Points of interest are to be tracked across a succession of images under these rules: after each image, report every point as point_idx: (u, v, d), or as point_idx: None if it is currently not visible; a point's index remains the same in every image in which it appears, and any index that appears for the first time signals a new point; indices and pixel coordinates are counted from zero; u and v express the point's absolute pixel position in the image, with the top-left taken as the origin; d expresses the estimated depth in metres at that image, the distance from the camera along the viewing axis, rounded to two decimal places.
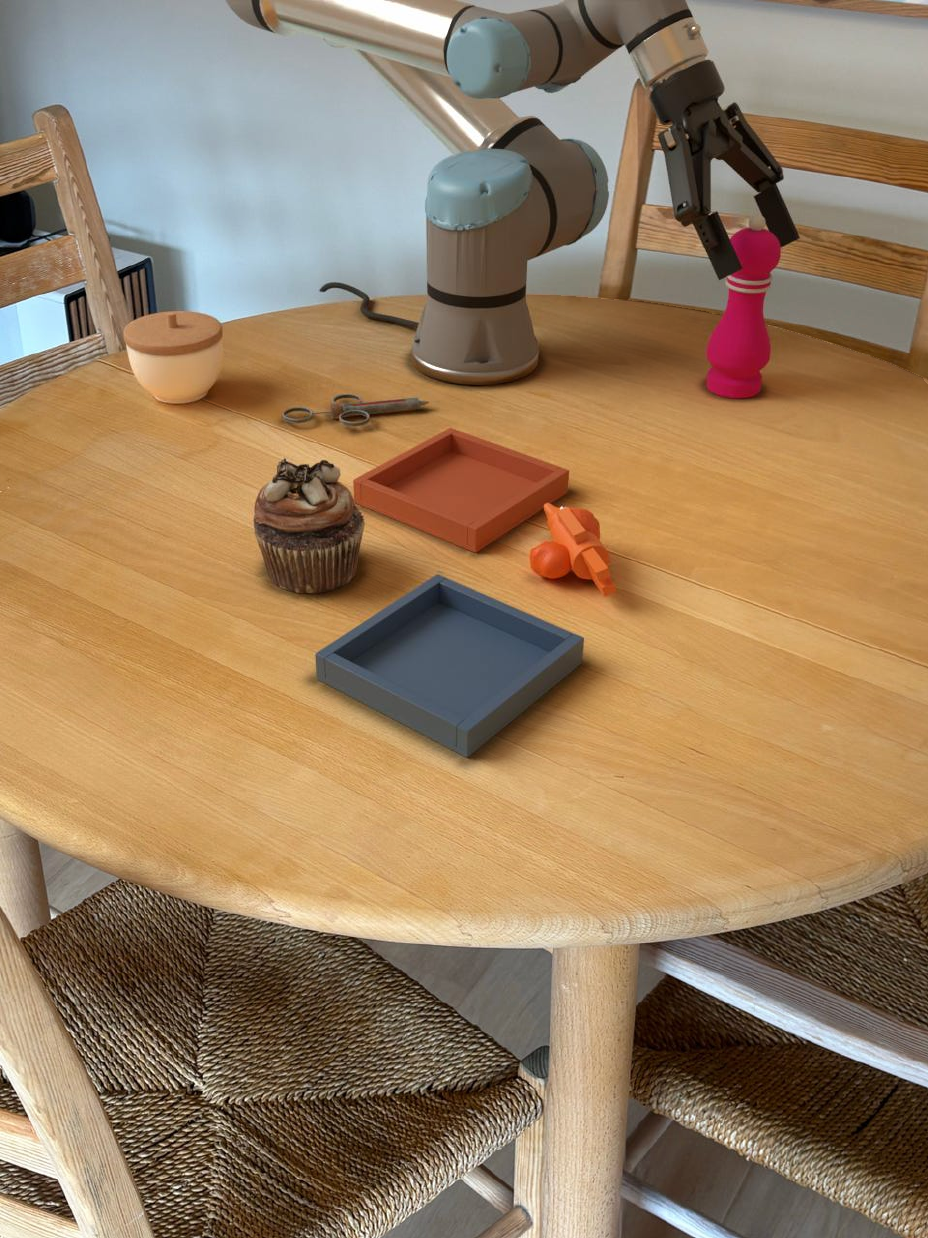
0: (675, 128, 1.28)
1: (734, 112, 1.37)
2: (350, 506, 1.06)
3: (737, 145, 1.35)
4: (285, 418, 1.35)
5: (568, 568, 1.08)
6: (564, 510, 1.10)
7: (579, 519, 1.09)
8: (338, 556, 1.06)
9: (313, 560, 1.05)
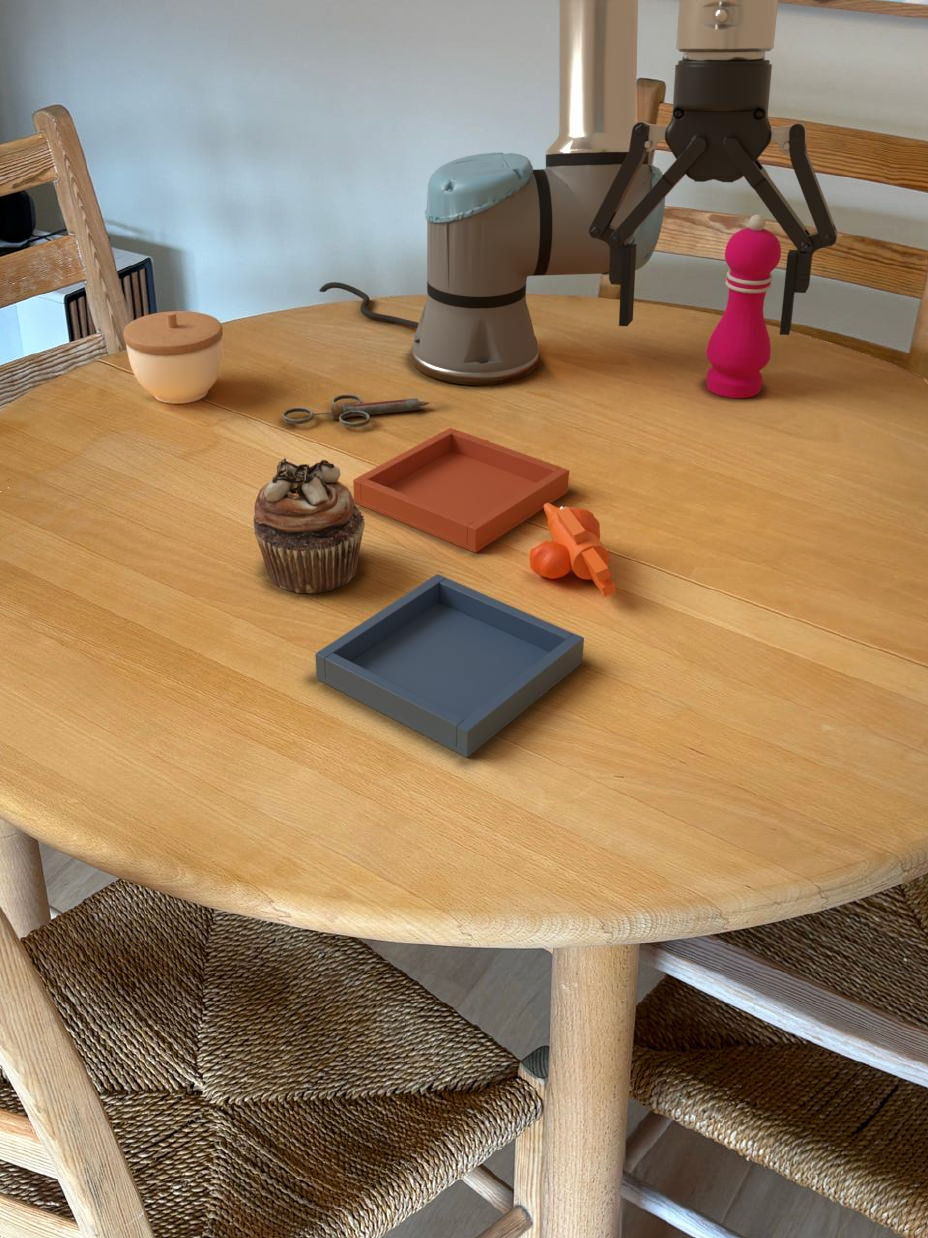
0: (632, 129, 1.01)
1: (789, 137, 0.98)
2: (350, 506, 1.06)
3: (750, 183, 1.00)
4: (285, 419, 1.35)
5: (568, 568, 1.08)
6: (564, 510, 1.10)
7: (579, 519, 1.09)
8: (338, 556, 1.06)
9: (313, 560, 1.05)
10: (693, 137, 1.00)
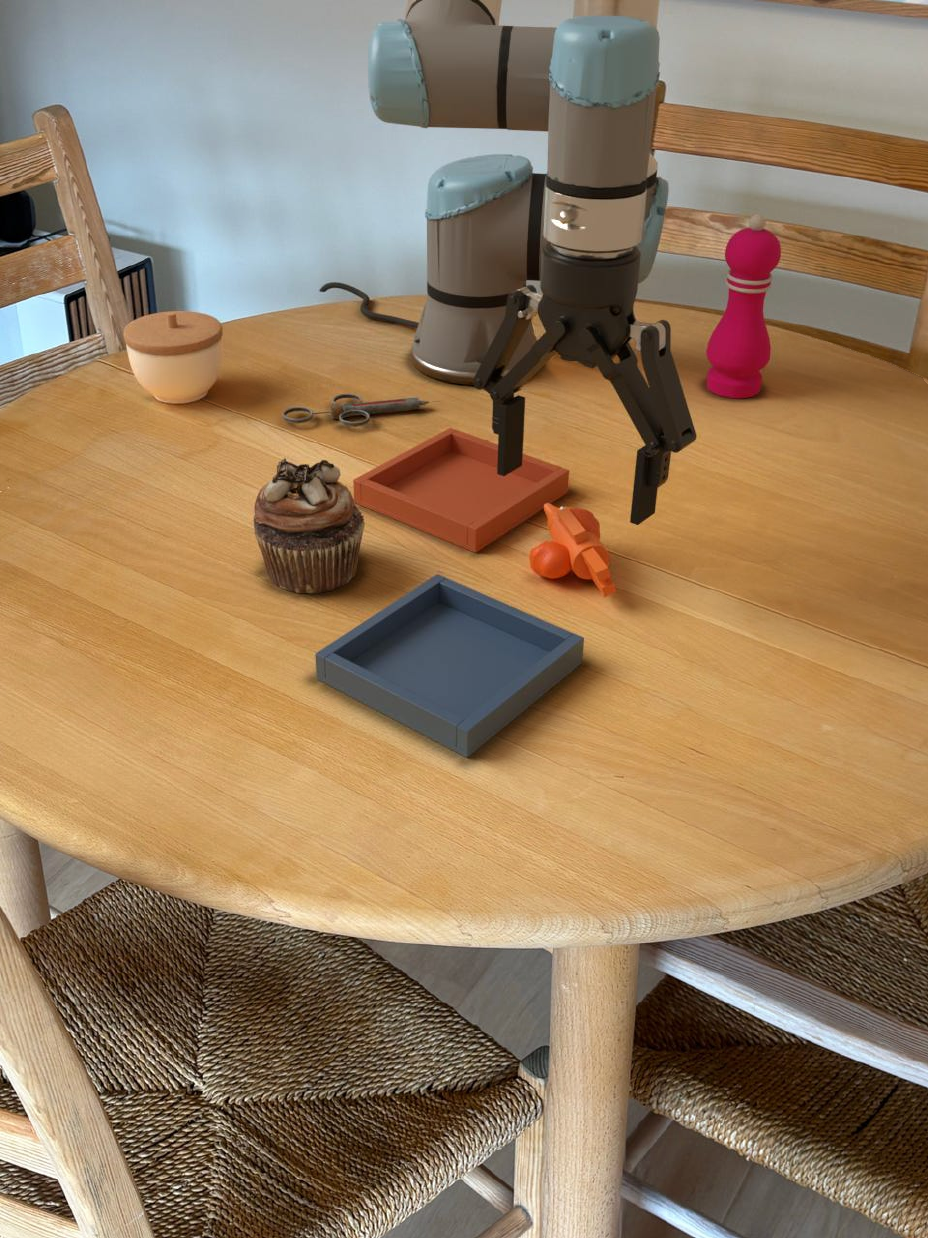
0: (508, 297, 1.00)
1: (641, 339, 0.94)
2: (350, 506, 1.06)
3: None
4: (285, 418, 1.35)
5: (568, 568, 1.08)
6: (564, 510, 1.10)
7: (579, 519, 1.09)
8: (338, 556, 1.06)
9: (313, 560, 1.05)
10: (558, 318, 0.98)
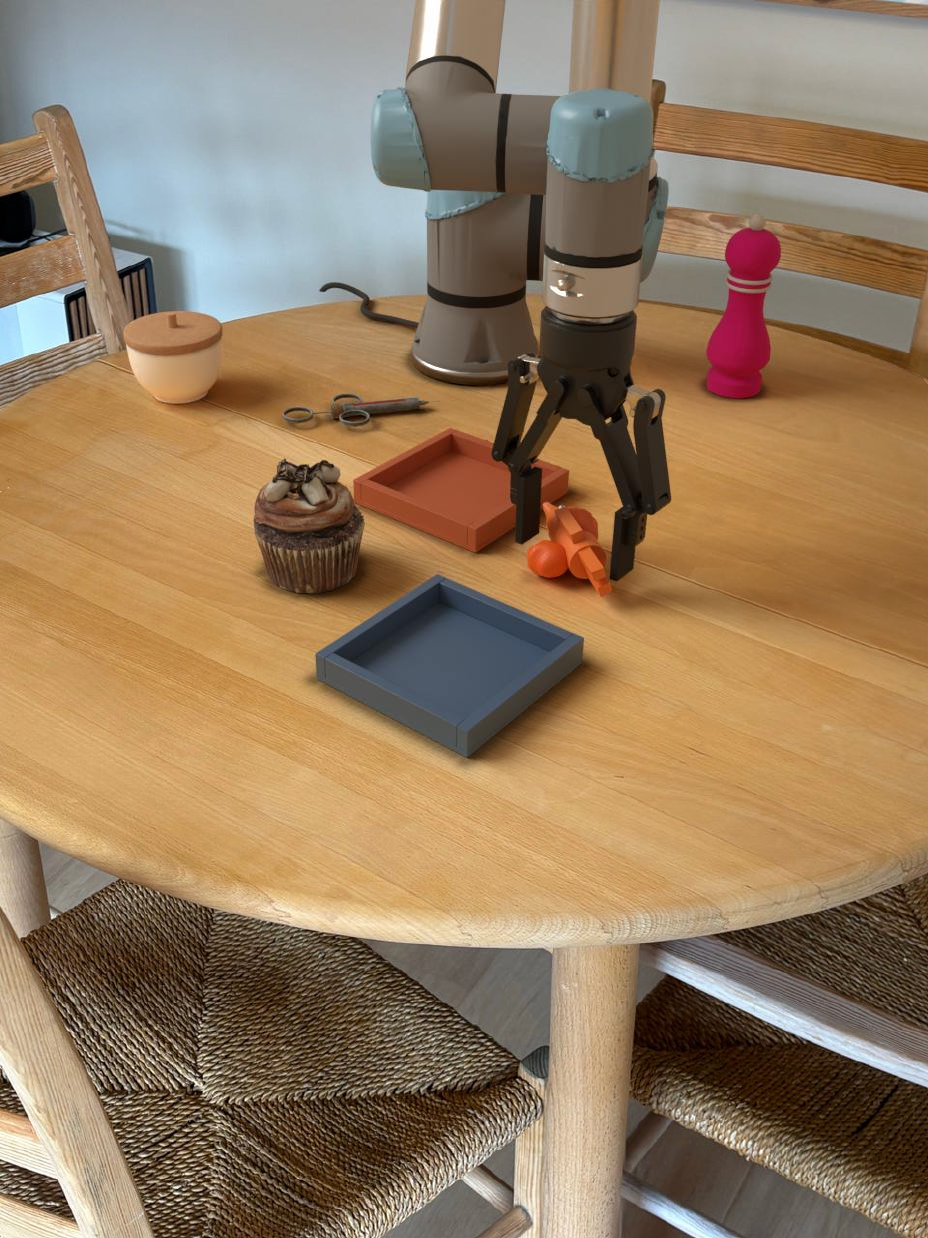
0: (508, 365, 1.03)
1: None
2: (350, 506, 1.06)
3: None
4: (285, 418, 1.35)
5: (565, 567, 1.08)
6: (562, 509, 1.10)
7: (577, 518, 1.09)
8: (338, 556, 1.06)
9: (313, 560, 1.05)
10: (558, 374, 1.00)
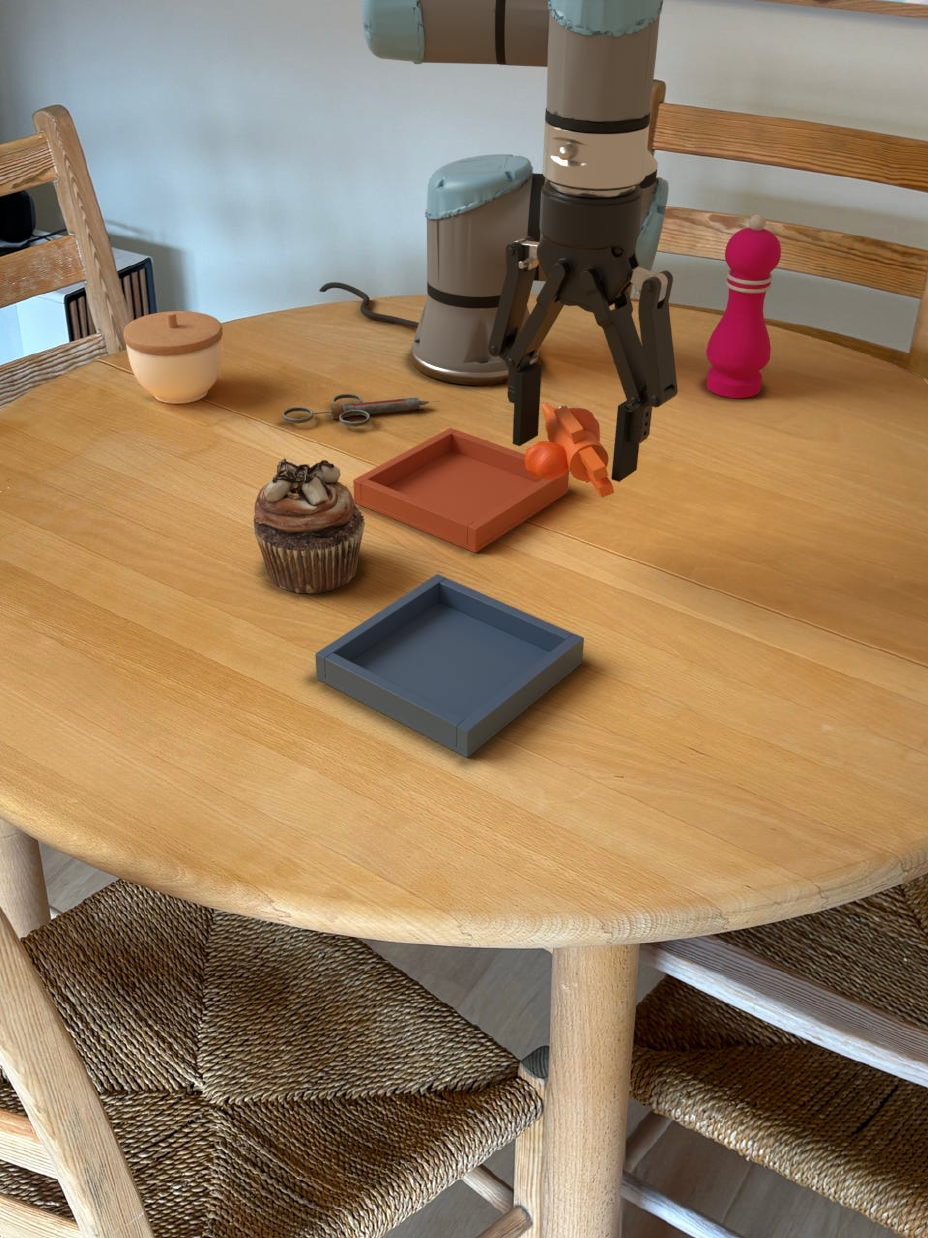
0: (506, 250, 0.98)
1: (642, 288, 0.92)
2: (350, 506, 1.06)
3: None
4: (285, 418, 1.35)
5: (565, 468, 1.03)
6: (562, 409, 1.05)
7: (577, 418, 1.04)
8: (338, 556, 1.06)
9: (313, 560, 1.05)
10: (559, 257, 0.95)
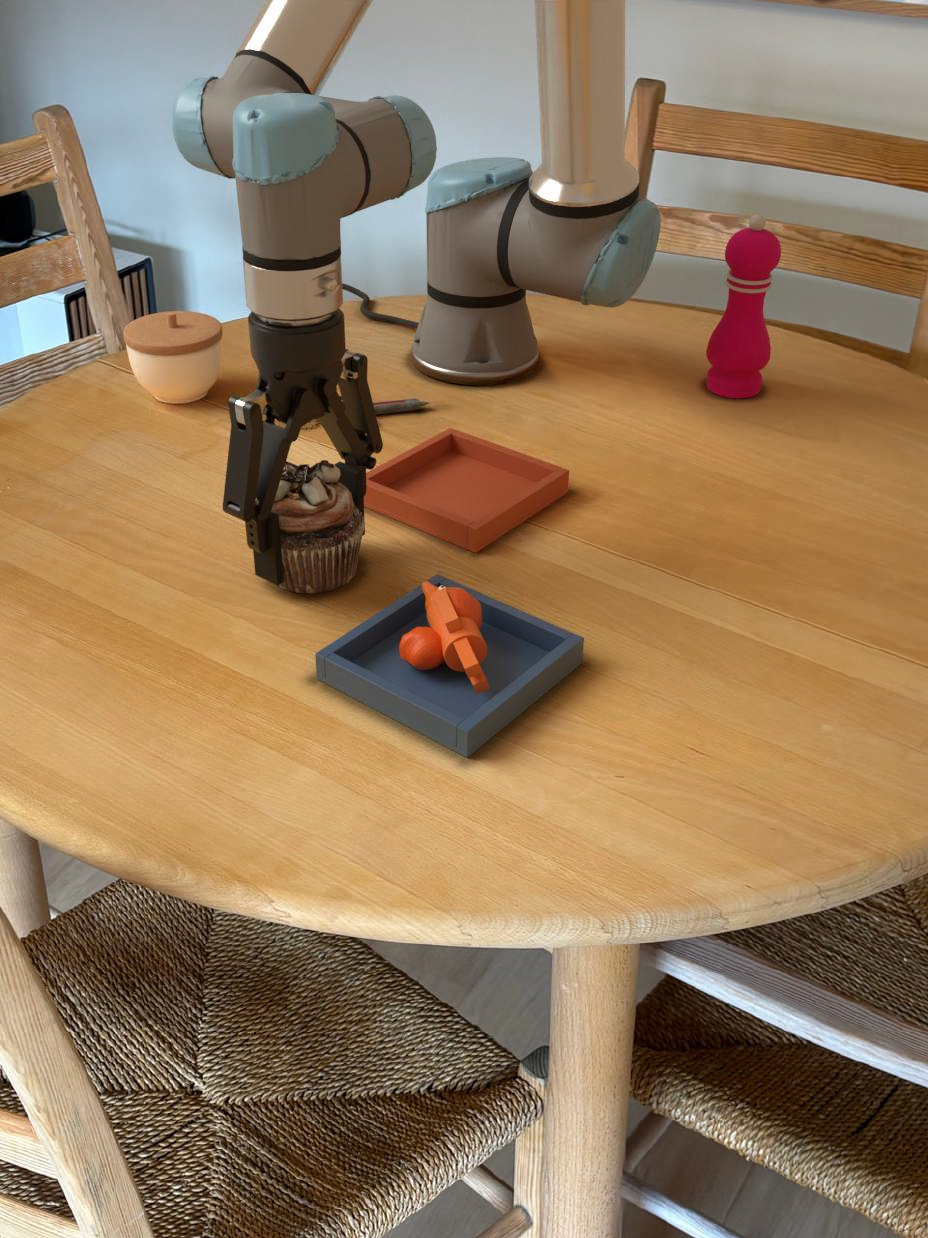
0: (248, 413, 0.96)
1: (356, 367, 1.04)
2: (350, 506, 1.06)
3: (333, 416, 1.04)
4: None
5: (440, 659, 0.96)
6: (440, 592, 0.98)
7: (455, 603, 0.97)
8: (338, 556, 1.06)
9: (313, 560, 1.05)
10: (294, 388, 0.99)
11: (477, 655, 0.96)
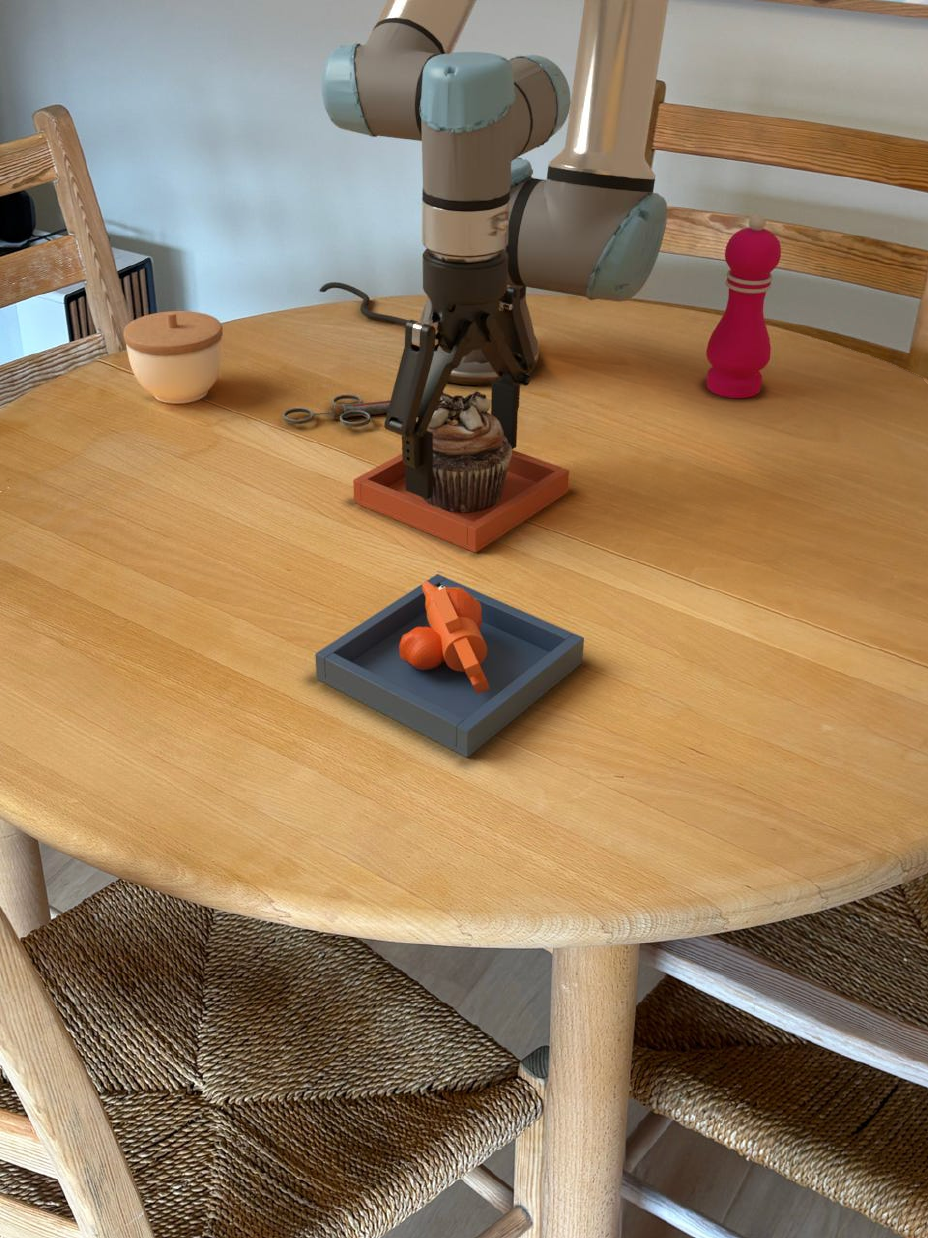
0: (425, 334, 1.07)
1: (511, 299, 1.15)
2: (501, 433, 1.17)
3: (494, 344, 1.15)
4: (286, 419, 1.35)
5: (440, 659, 0.96)
6: (440, 592, 0.98)
7: (455, 603, 0.97)
8: (491, 478, 1.17)
9: (470, 481, 1.16)
10: (462, 322, 1.10)
11: (477, 655, 0.96)
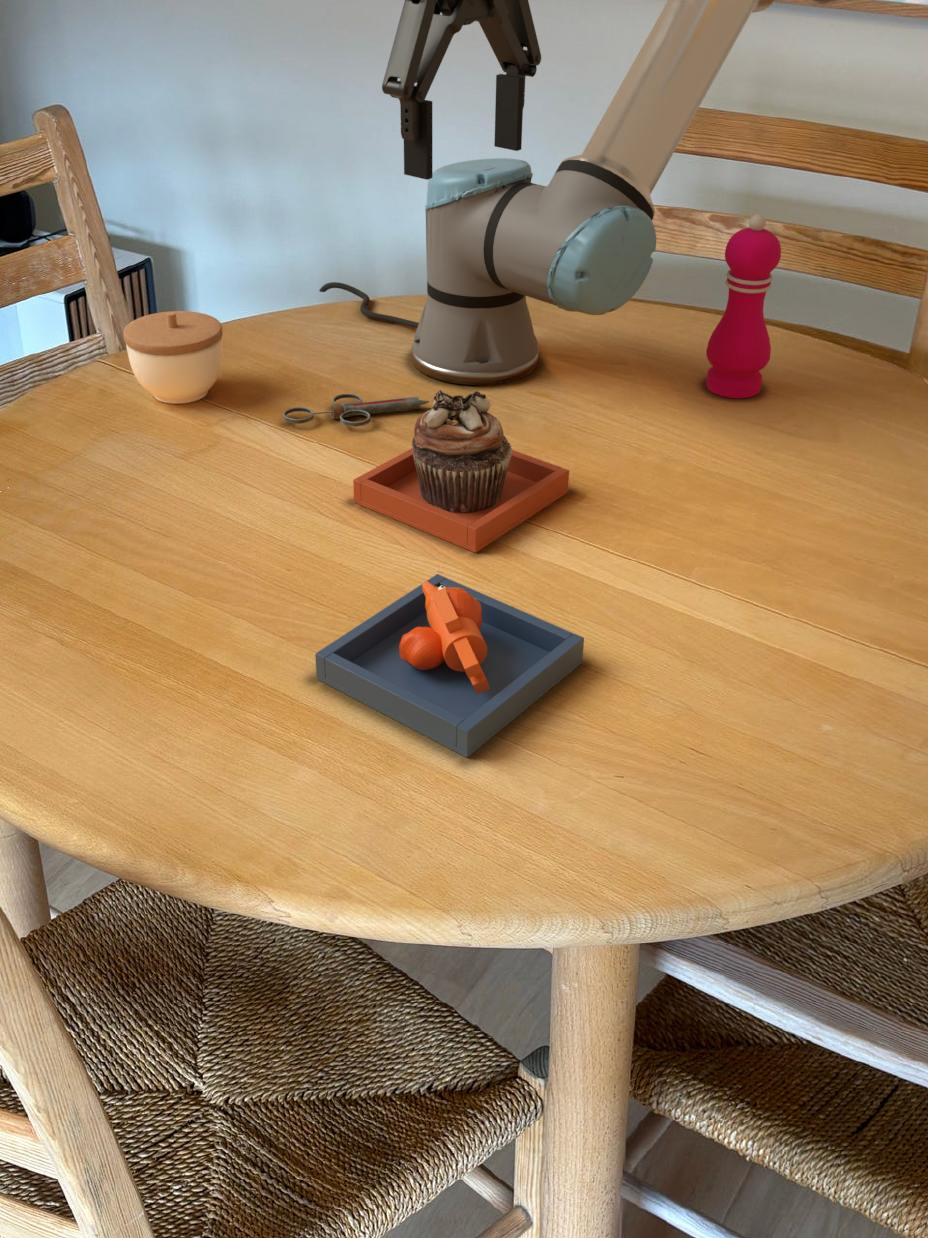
0: None
1: None
2: (501, 433, 1.17)
3: (498, 19, 1.11)
4: (286, 418, 1.34)
5: (440, 659, 0.96)
6: (440, 592, 0.98)
7: (455, 603, 0.97)
8: (491, 478, 1.17)
9: (470, 481, 1.16)
10: None
11: (477, 655, 0.96)
